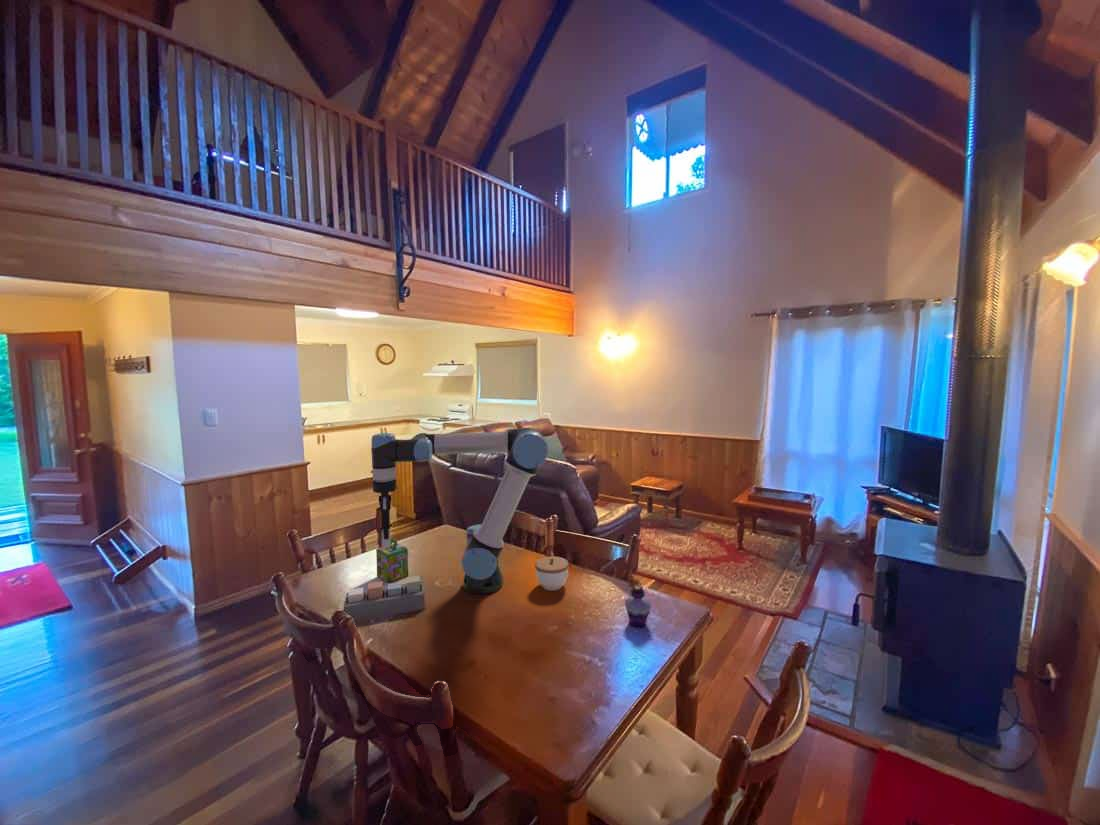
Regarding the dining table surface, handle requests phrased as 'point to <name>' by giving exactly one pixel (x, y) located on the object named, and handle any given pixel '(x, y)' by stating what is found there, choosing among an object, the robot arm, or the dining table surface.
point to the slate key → (394, 589)
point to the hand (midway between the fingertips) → (386, 546)
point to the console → (385, 604)
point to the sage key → (413, 584)
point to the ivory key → (356, 595)
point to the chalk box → (392, 562)
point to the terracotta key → (375, 590)
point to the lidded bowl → (552, 572)
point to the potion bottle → (637, 607)
